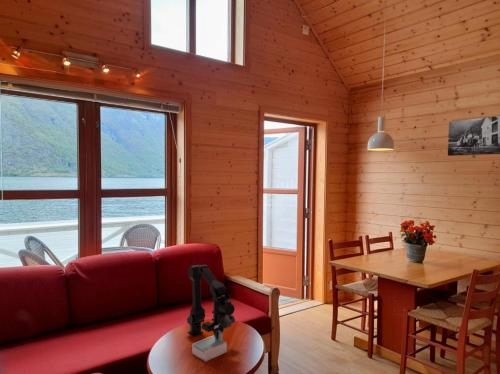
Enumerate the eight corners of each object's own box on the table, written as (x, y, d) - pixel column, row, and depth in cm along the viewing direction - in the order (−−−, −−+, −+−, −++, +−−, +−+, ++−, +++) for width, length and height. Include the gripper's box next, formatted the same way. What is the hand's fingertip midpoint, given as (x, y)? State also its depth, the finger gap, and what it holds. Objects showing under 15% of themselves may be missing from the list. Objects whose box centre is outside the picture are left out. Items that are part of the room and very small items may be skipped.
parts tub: (192, 353, 180) (192, 343, 180) (213, 344, 191) (213, 335, 190) (205, 361, 173) (205, 351, 173) (226, 351, 183) (226, 342, 183)
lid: (193, 346, 180) (193, 336, 180) (214, 337, 190) (214, 328, 189) (204, 352, 174) (204, 342, 173) (225, 343, 183) (225, 333, 183)
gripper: (215, 318, 173) (214, 350, 174) (242, 309, 186) (241, 338, 187) (201, 312, 181) (200, 342, 181) (228, 303, 194) (227, 331, 195)
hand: (218, 338), depth 186 cm, fingers closed on lid, 2 cm apart
